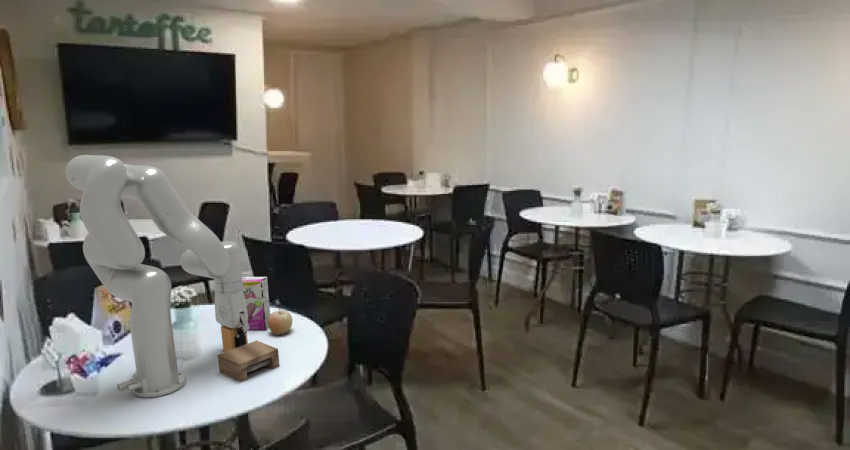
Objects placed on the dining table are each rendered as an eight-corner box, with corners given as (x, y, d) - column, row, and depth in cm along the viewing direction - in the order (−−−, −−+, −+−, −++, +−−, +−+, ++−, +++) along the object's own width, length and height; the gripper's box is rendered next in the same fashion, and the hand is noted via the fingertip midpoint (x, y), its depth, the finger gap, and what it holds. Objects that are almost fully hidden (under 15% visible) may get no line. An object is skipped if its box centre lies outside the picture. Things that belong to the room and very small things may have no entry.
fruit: (271, 329, 193) (269, 304, 191) (294, 327, 193) (292, 303, 191) (266, 338, 185) (264, 313, 183) (291, 336, 185) (288, 311, 184)
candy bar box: (232, 330, 192) (226, 280, 189) (238, 325, 197) (233, 276, 194) (266, 331, 191) (261, 280, 188) (272, 325, 196) (267, 275, 192)
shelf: (240, 382, 156) (238, 364, 155) (219, 372, 163) (217, 354, 162) (279, 366, 165) (278, 348, 164) (258, 357, 172) (256, 340, 170)
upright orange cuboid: (233, 357, 172) (230, 330, 170) (223, 353, 175) (220, 326, 173) (248, 351, 175) (246, 325, 174) (239, 347, 179) (236, 321, 177)
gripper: (201, 283, 174) (208, 343, 178) (234, 294, 163) (240, 358, 167) (224, 277, 179) (230, 335, 183) (258, 287, 168) (264, 349, 172)
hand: (235, 345), depth 175 cm, fingers closed on upright orange cuboid, 5 cm apart
